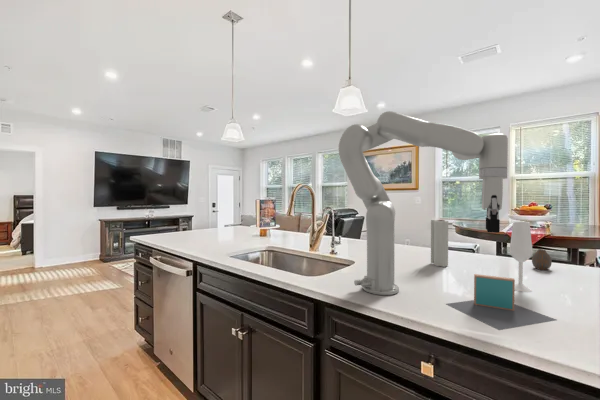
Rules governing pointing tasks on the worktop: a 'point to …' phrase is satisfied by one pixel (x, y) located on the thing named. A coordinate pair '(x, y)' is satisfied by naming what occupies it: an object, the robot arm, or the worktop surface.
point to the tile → (494, 291)
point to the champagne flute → (521, 249)
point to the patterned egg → (541, 260)
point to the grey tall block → (439, 242)
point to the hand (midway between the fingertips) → (492, 230)
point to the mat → (501, 315)
